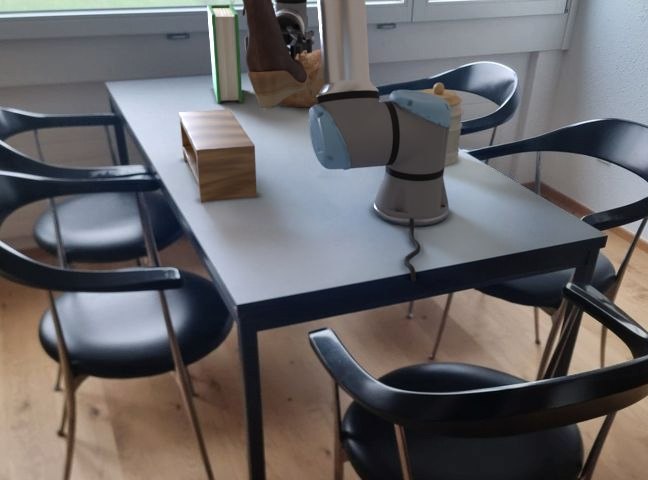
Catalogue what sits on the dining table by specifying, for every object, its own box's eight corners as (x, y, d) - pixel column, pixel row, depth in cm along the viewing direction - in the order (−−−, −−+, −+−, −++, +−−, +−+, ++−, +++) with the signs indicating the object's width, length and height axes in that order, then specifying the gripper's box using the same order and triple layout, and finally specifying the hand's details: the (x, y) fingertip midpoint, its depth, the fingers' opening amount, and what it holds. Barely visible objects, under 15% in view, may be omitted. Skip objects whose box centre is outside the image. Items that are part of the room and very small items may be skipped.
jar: (421, 170, 164) (429, 91, 153) (395, 153, 173) (401, 78, 163) (467, 163, 168) (478, 87, 158) (439, 147, 178) (448, 74, 167)
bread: (357, 93, 221) (359, 41, 212) (352, 113, 202) (354, 58, 193) (275, 89, 222) (274, 38, 214) (263, 109, 204) (261, 54, 195)
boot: (316, 77, 149) (305, -30, 137) (289, 110, 130) (274, -11, 118) (277, 79, 151) (263, -26, 139) (245, 112, 132) (226, -7, 120)
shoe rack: (256, 196, 148) (254, 145, 142) (201, 202, 145) (196, 150, 139) (232, 155, 170) (229, 109, 164) (183, 159, 167) (178, 112, 161)
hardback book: (242, 102, 209) (237, 14, 195) (217, 103, 208) (211, 14, 194) (236, 88, 223) (232, 4, 209) (213, 89, 222) (207, 5, 208)
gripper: (329, 50, 156) (322, 74, 138) (243, 47, 157) (226, 71, 139) (330, 13, 152) (323, 33, 133) (242, 10, 153) (223, 30, 134)
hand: (274, 52), depth 136 cm, fingers closed on boot, 6 cm apart
